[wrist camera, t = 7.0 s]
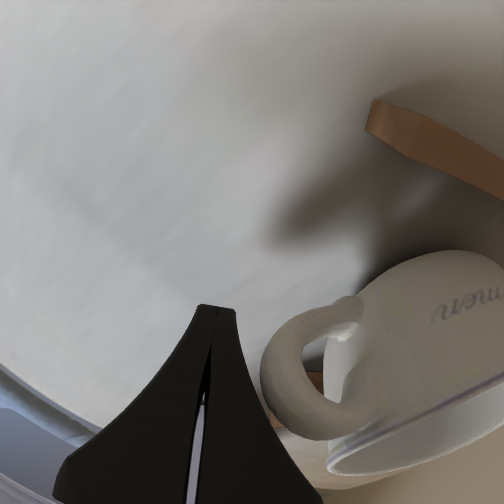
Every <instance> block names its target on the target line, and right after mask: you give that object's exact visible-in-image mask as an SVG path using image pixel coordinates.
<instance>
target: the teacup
mask: <svg viewBox="0 0 504 504" xmlns="http://www.w3.org/2000/svg"><path fill="white" fill-rule="evenodd" d="M324 338H328V339H327V343H326V346H325V352H324V361H323V382H324V396H323V395H322V394H321V393H319V392H318V391H317V390H316V388H315V387H314V385H313V384H312V382H311V381H310V379H309V378H308V376H307V374H306V372H305V369H304V367H303V364H302V359H301V357H302V351H303V348H304V346H305V345H306V344H308V343H310V342H313V341H316V340H319V339H324ZM260 384H261V388H262V392H263V396H264V398H265V401H266V403H267V405H268V408H269V409H270V410H271V412H272V413H273V414H274V416H275V417H276V419H277V420H278V421H279V422H280V423H281V424H282V425H283V426H285V427H286V428H287V429H288V430H289V431H291V432H292V433H294V434H297V435H299V436H301V437H303V438H306V439H311V440H315V441H320V440H328V449H329V455H328V458H327V460H326V466H327V470H328V471H330V472H332V473H333V474H338V475H345V476H364V475H372V474H380V473H385V472H391V471H394V470H398V469H404V468H407V467H410V466H414V465H417V464H421V463H425V462H428V461H430V460H433V459H436V458H438V457H441V456H443V455H445V454H448V453H451V452H453V451H455V450H458V449H460V448H462V447H464V446H466V445H468V444H470V443H472V442H474V441H476V440H478V439H480V438H482V437H484V436H485V435H487V434H489V433H491V432H492V431H494V430H496V429H497V428H499V427H500V426H502V425H503V424H504V269H503V268H502V267H501V266H500V265H499V264H497V263H496V262H495V261H493V260H492V259H490V258H488V257H486V256H484V255H482V254H479V253H476V252H472V251H466V250H444V251H437V252H433V253H428V254H425V255H421V256H418V257H416V258H413V259H410V260H407V261H405V262H402V263H400V264H398V265H396V266H394V267H392V268H390V269H389V270H387V271H386V272H384V273H383V274H381V275H380V276H378V277H377V278H376V279H375V280H374V281H372V282H371V283H369V284H368V285H367V286H366V287H365V288H364V289H363V290H361V291H360V292H359V293H358V294H357V295H356V296H355V297H352V296H345V297H342V298H340V299H338V300H336V301H335V302H334V303H333V304H332V305H331V306H325V307H321V308H316V309H311V310H309V311H306V312H304V313H302V314H300V315H297V316H295V317H293V318H292V319H290V320H289V321H287V322H286V323H285V324H284V325H283V326H282V327H281V328H280V329H279V330H278V331H277V332H276V333H275V334H274V335H273V337H272V339H271V340H270V342H269V343H268V345H267V346H266V348H265V350H264V353H263V356H262V359H261V366H260Z"/></svg>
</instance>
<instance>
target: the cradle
mask: <svg viewBox="0 0 504 504" xmlns="http://www.w3.org/2000/svg"><path fill="white" fill-rule="evenodd" d="M365 130H366V131H368V132H369V133H371V134H373V135H374V136H376V137H377V138H379V139H381V140H382V141H384V142H385V143H387V144H388V145H390V146H391V147H393V148H394V149H396V150H397V151H399V152H400V153H402V154H403V155H405V156H406V157H408V158H410V159H413V160H416V161H418V162H421V163H423V164H426V165H428V166H431V167H433V168H435V169H438V170H440V171H442V172H445V173H447V174H449V175H452V176H454V177H456V178H458V179H460V180H463V181H465V182H467V183H469V184H471V185H473V186H475V187H477V188H479V189H481V190H483V191H485V192H487V193H489V194H491V195H493V196H495V197H497V198H499V199H500V200H502V201H504V161H503V160H502V159H500V158H499V157H497V156H496V155H494V154H492V153H491V152H489V151H488V150H486V149H484V148H483V147H481V146H479V145H478V144H476V143H474V142H473V141H471V140H469V139H467V138H465V137H464V136H462V135H460V134H458V133H456V132H454V131H453V130H451V129H449V128H447V127H445V126H443V125H441V124H439V123H437V122H435V121H433V120H431V119H429V118H427V117H424V116H422V115H420V114H417V113H414V112H411V111H409V110H406V109H403V108H400V107H397V106H394V105H390V104H387V103H384V102H381V101H377V100H373V103H372V107H371V110H370V114H369V117H368V121H367V124H366V128H365ZM305 372H306V374H307V376H308V378H309V379H310V381H311V382H312V384H313V385H314V387H315V388H316V390H317V391H318V392H319V393H321V394H322V395H323V396H324V382H323V373H321V372H307V371H305ZM270 423H271V425H272V427H278V428H286V427H285V426H283V425H282V424H281V423H280V422H279V421H278V420H277V419H276V417H275V416H274V414H273V413H272V412H271V410H270Z"/></svg>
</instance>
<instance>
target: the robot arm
mask: <svg viewBox="0 0 504 504" xmlns="http://www.w3.org/2000/svg"><path fill="white" fill-rule="evenodd" d="M204 391H205V394H204ZM203 395H204V405H201V403H202V399H203ZM52 495H53V497H54V499H56V500H58V501H60V502H62V503H64V504H324V503H323V500H322V497H321V496H320V495H319V493H318V492H317V491H316V490H315V489H314V487H313V486H312V485H311V484H310V483H309V481H308V480H307V479H306V478H305V476H304V475H303V474H302V472H301V471H300V470H299V468H298V467H297V465H296V464H295V463H294V461H293V460H292V458H291V457H290V455H289V454H288V452H287V451H286V449H285V447H284V446H283V444H282V443H281V441H280V439H279V438H278V436H277V434H276V433H275V431H274V429H273V427H272V425H271V423H270V421H269V420H268V418H267V416H266V414H265V411H264V409H263V407H262V405H261V403H260V401H259V398H258V396H257V394H256V391H255V389H254V386H253V383H252V381H251V378H250V375H249V372H248V369H247V366H246V363H245V359H244V356H243V352H242V349H241V345H240V340H239V335H238V330H237V323H236V312H235V311H234V310H233V309H230V308H224V307H218V306H212V305H206V304H200V305H198V306H197V309H196V312H195V314H194V316H193V318H192V320H191V322H190V324H189V326H188V328H187V330H186V331H185V333H184V335H183V336H182V338H181V339H180V341H179V343H178V344H177V346H176V347H175V349H174V350H173V352H172V353H171V355H170V356H169V358H168V359H167V360H166V362H165V363H164V364H163V366H162V367H161V368H160V370H159V371H158V372H157V374H156V375H155V376H154V377H153V379H152V380H151V381H150V382H149V384H148V385H147V386H146V387H145V388H144V389H143V390H142V392H141V393H140V394H139V395H138V396H137V397H136V398H135V399H134V400H133V401H132V402H131V403H130V404H129V405H128V407H127V408H126V409H125V410H124V411H123V412H122V413H121V414H119V415H118V416H117V417H116V418H115V419H114V420H113V421H112V422H111V423H110V424H108V425H107V426H106V427H105V428H104V429H103V430H102V431H100V432H99V433H98V434H97V435H96V436H94V437H93V438H92V439H91V440H89V441H88V442H87V443H85V444H84V445H83V446H81V447H80V448H78V449H77V450H76V451H75V452H73V453H72V454H70V455H69V456H68V457H67V458H66V459H65V461H64V462H63V464H62V466H61V468H60V470H59V472H58V475H57V477H56V481H55V485H54V489H53V493H52ZM0 504H56V503H54V502H52V501H50V500H48V499H46V498H44V497H41V496H40V495H38V494H36V493H34V492H32V491H30V490H28V489H27V488H25V487H23V486H21V485H19V484H18V483H16V482H14V481H13V480H11V479H9V478H8V477H6V476H5V475H3V474H2V473H0Z"/></svg>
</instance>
